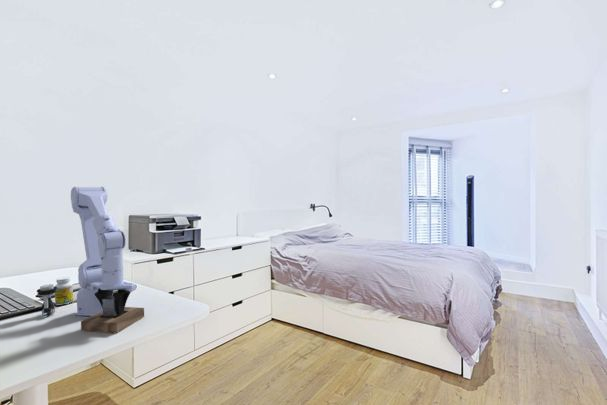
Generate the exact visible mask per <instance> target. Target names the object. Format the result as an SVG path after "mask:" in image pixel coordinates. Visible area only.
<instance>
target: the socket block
mask: <svg viewBox="0 0 607 405" xmlns="http://www.w3.org/2000/svg"><path fill="white" fill-rule="evenodd" d="M143 318H145V307H135V306H133V307H131V306H125V308H124V314H123V315H121V316H119V317H117V318H103V311H101V312H99V313H97V314H95V315H92V316H87V317H86V318H85V319H82V320H80V331H81V332H91V333H92V332H93V333H108V334H118V333H120V332H121V331H123V330H125V329H126V328H128V327H130V326H131V325H134V324H135V323H137V322H138V321H140V320H142V319H143Z"/></svg>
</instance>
